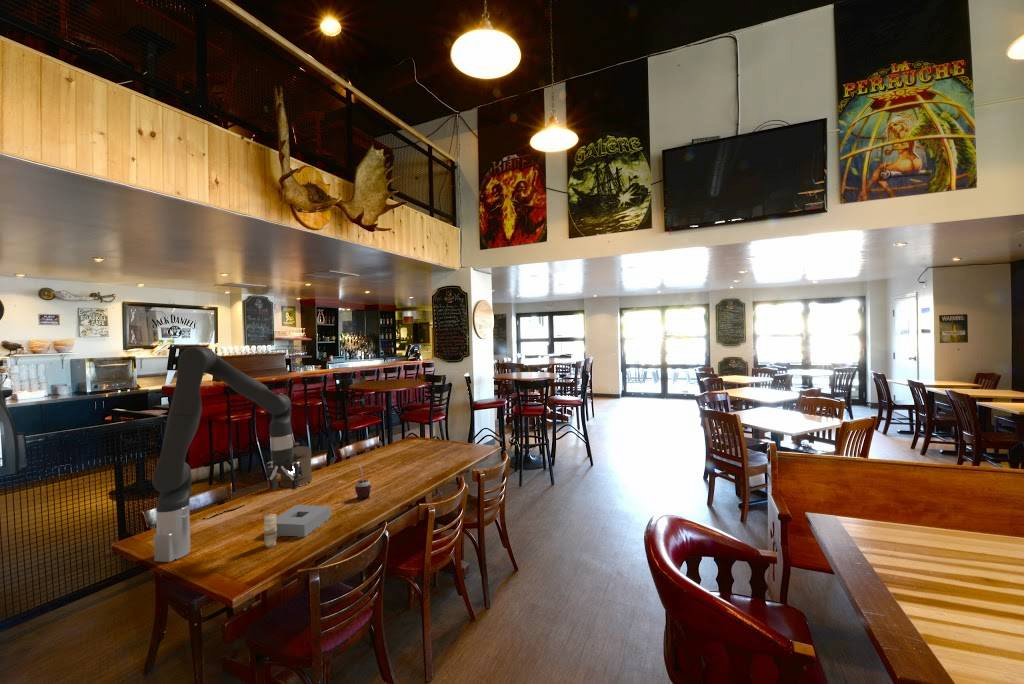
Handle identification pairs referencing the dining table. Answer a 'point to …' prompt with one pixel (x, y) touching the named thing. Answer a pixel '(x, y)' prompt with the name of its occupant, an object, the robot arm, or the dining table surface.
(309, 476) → the wooden container
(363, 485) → the mate gourd
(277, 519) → the socket block
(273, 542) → the peg
